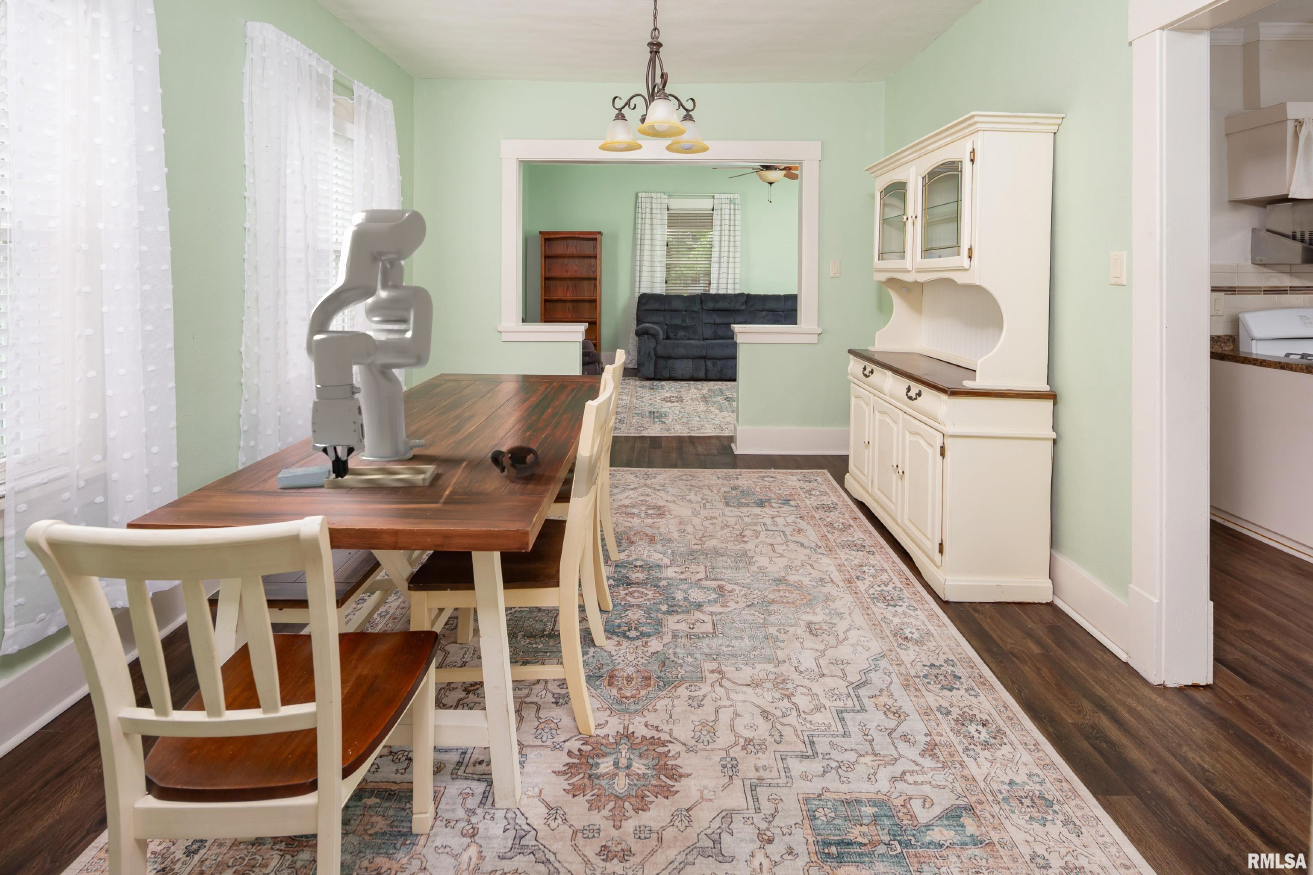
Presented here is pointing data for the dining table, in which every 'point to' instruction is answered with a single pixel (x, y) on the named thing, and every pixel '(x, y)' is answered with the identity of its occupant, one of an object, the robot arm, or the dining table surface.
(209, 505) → the dining table surface
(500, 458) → the pottery mug
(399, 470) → the tray
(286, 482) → the cover plate
